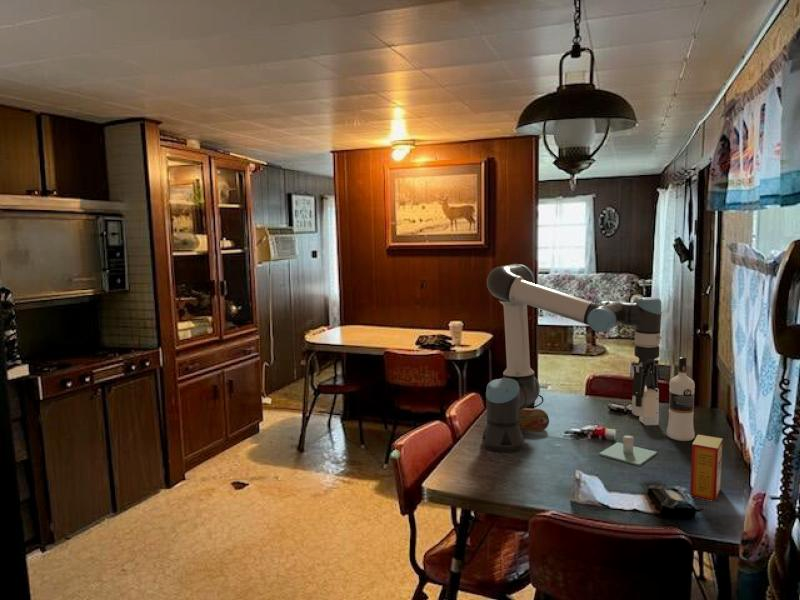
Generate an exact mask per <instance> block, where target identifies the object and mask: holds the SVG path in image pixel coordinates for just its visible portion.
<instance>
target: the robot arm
mask: <svg viewBox="0 0 800 600" xmlns="http://www.w3.org/2000/svg"><path fill="white" fill-rule="evenodd" d="M535 282H536V279H535V276H534V273H533V271H532V270H531V269H530V268H529V266H526V265H524V264H519V263H511V264H506V265H501V266H496V267H495V268H493V269H492V270H491V271H490V272H489V273H488V275H487V278H486V288H487V289H488V292H489V293H490V294H491V295H492V296H493V297H495V298H498V302H499V303H500V304H502V306H503V317H504V318H503V319H504V337H505V355H506V368H505V370H504V371H503V373H502V375H503V377H501V378H500V377H499V379H498V378H496V379H493V380H491V381H489V382H488V383H487V384H486V385H487V386H486V392H485V399H486V405H485V407H486V425H485V428H484V430H483V434H482V438H481V445H482V447H483V448H484V449H486V450H489V451H491V452H497V453H514V452H519V451H521V450H522V449H523V448H524V447H525V438H524V436H523V432H522V431H521V429H520V426H519V411H520V410H521V409H523V408H525V407H526V406H529V405H531V404H532V403H533V402H534V401H535V402H536V400H537V399H538V398H539V397H540V396H539V395H540V392H541V386H540V382H539V381H538V379H537V378H536V377H535V371H534V370H533V369H532V368H531V358H530V357H531V356H530V341H529V321H528V320H529V319H528V317H529V316H528V306H530V307H533V308H537V309H539V310H542V311H545V312H548V313H551V314H554V315H558V316H560V317H563V318H566V319H569V320H570V321H571V320H572V321H575V322H578V323H581V324H583V325H587V326H589V328H591V329H592V330H593V331H594V332H597V333H599V332H600V333H602V332H607V331H610V330H611V329H613V328H615V327H617V326H621V325H622V326H630V327H631V326H632V327H633V326H634V327H635V332H634V344H635V345H634V356H635V358H638V363H637V365H634V366H633V381H632V392H631V393H632V394H631V395H632V396H631V397H633V396H635V415H634V416H637V417H639V416H641V417H644V401H645V397H643V395H644V390H645V386H646V387H647V388H651V389H654V390H655V391H656V392H657V391H658V389H659V382H658V381H659V376H658V375H659V370H658V369H659V358H660V353H661V352H660V351H661V349H660V346H659V345H660V344H661V340H662V336H661V327H662V326H661V324H662V314H663V312H662V301H661V299H660V298H657V297H652V296H651V297H650V296H649V297H647V296H645V297H644V296H643V297H642V296H641V297H638V298H637V299H636V302H625V301H624V302H623V301H621V302H620V301H613V300H609V301H608V300H607V301H604V300H603V301H600V303H596V302H594V301H590V300H588V299H585V298H581V297H578V296H575V295H571V294H569V293H566V292H565V293H564V292H561V291H558V290H556V289H552V288H548V287H545V286H543V285H540V284H537V283H536V284H535ZM655 388H656V389H655Z"/></svg>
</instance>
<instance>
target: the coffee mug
mask: <svg viewBox="0 0 800 600" xmlns="http://www.w3.org/2000/svg"><path fill="white" fill-rule="evenodd" d="M538 397H539V398H541V402H539V404H536V405H535V403H536V400H535V401H534V402H533V403H532V404H531V405H529V406H526V407H525V408H524V409H536V408H537V407H539V406H540V405H542V404H543V403H544V397H543V395H541V394H539V396H538Z"/></svg>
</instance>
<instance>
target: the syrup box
mask: <svg viewBox="0 0 800 600" xmlns="http://www.w3.org/2000/svg"><path fill="white" fill-rule="evenodd" d="M645 388H647V387H646V385H645ZM655 389H656V388H655ZM657 389H658V391H657V392H656V395H657V397H656V415H655V416H653V417H641V416H638V421H639V422H640V423H642V425H644V426H659V422H660V421H659V417H660V416H659V414H660V411H659V410H660V408H659V407H660V406H659V405H660V404H659V403H660V402H659V401H660V400H659V399H660V398H659V397H660V390H659V389H660V388H657Z"/></svg>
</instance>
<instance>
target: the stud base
mask: <svg viewBox="0 0 800 600" xmlns="http://www.w3.org/2000/svg"><path fill="white" fill-rule="evenodd" d="M622 438H623V439H622V440H623V441H622V442H623V443H622V442H619V441H617V442H616V443H614V444H613V445H611V446H609V447H607V448H606V449H604V450H602V451H600V452H599V453H598V455H599V456H602V457H605V458H608V459H613V460H616V461H619V462H623V463H626V464H631V465H634V466H638V467H641V466H642V465H643V464H646V462H647V461H648V460H650V459H652V458H653V457H655V456H656V455H658V451H655V450H650V449H646V448H642V447H639V446H634V436H633V435H624V436H623V437H622Z"/></svg>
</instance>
